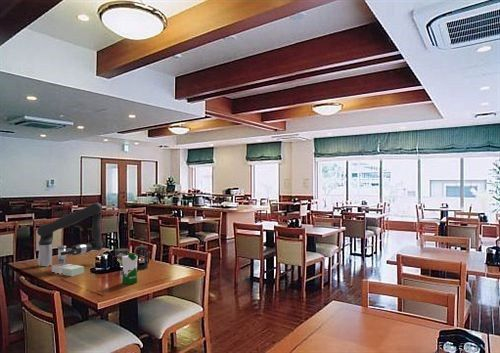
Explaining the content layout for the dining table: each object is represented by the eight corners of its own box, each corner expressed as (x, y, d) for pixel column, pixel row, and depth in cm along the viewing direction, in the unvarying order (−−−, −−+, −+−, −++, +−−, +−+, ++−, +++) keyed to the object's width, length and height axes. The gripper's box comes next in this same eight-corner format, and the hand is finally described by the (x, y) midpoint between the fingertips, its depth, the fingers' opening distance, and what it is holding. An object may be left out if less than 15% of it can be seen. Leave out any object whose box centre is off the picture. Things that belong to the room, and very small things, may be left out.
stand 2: (62, 274, 259) (62, 267, 259) (75, 271, 268) (75, 264, 268) (71, 276, 254) (71, 269, 254) (83, 273, 263) (83, 266, 263)
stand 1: (51, 272, 265) (51, 265, 265) (64, 269, 274) (64, 263, 274) (60, 274, 260) (60, 267, 260) (72, 271, 269) (72, 264, 269)
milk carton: (127, 285, 232) (127, 255, 233) (120, 283, 238) (120, 253, 238) (139, 282, 239) (139, 252, 239) (131, 280, 245) (131, 251, 245)
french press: (139, 270, 270) (139, 240, 270) (132, 268, 276) (132, 239, 276) (152, 267, 280) (152, 238, 280) (144, 265, 285) (144, 237, 285)
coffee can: (128, 268, 276) (128, 250, 276) (114, 269, 273) (114, 251, 273) (129, 265, 286) (129, 247, 286) (115, 266, 283) (115, 248, 283)
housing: (55, 262, 266) (55, 246, 266) (62, 260, 271) (63, 245, 271) (60, 263, 263) (60, 247, 263) (67, 261, 268) (68, 246, 268)
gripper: (72, 243, 283) (52, 247, 268) (84, 245, 276) (64, 249, 261) (72, 253, 283) (52, 257, 268) (84, 255, 276) (64, 259, 261)
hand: (58, 253), depth 265 cm, fingers closed on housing, 5 cm apart
